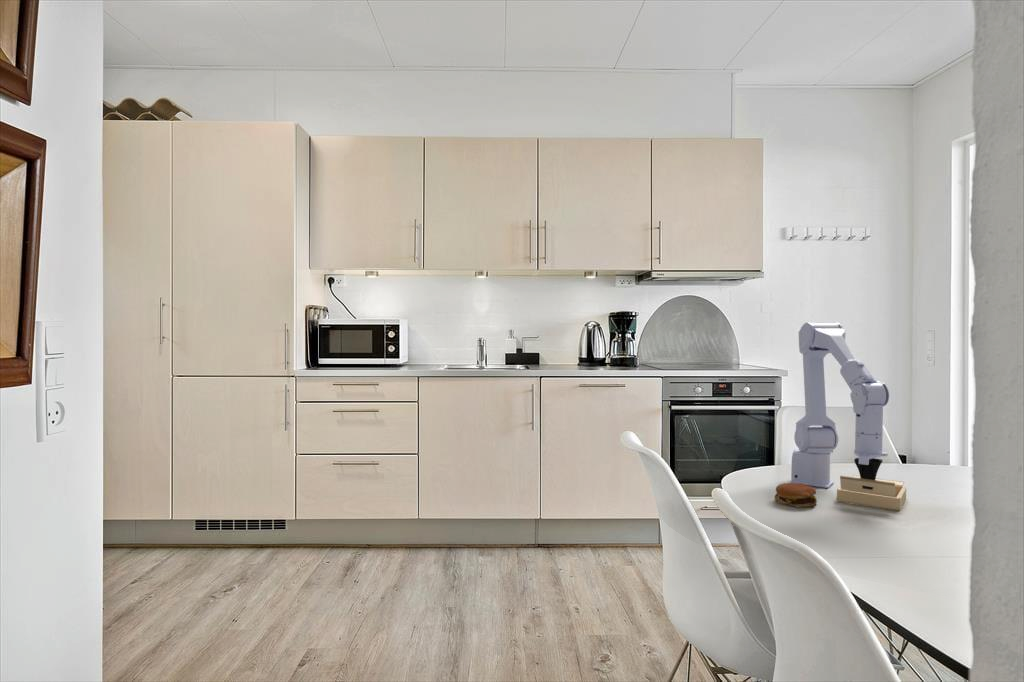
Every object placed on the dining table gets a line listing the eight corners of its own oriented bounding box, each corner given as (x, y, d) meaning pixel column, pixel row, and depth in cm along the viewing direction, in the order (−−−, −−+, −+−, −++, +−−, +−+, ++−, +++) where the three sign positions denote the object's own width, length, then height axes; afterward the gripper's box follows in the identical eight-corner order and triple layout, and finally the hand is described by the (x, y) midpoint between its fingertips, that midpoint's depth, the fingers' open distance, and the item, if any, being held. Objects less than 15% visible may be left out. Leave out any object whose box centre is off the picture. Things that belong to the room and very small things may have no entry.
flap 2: (902, 486, 167) (904, 483, 169) (902, 485, 167) (904, 481, 169) (851, 479, 174) (853, 476, 176) (851, 478, 174) (853, 475, 176)
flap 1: (840, 488, 162) (840, 476, 161) (841, 487, 162) (840, 475, 161) (895, 496, 155) (894, 483, 154) (895, 495, 155) (894, 482, 154)
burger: (769, 497, 167) (770, 479, 166) (807, 498, 166) (808, 480, 166) (782, 508, 157) (782, 489, 157) (822, 510, 156) (823, 490, 156)
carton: (836, 501, 163) (836, 489, 163) (846, 490, 174) (847, 478, 174) (899, 511, 155) (899, 498, 155) (906, 498, 166) (906, 486, 166)
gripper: (883, 439, 149) (882, 498, 150) (891, 430, 161) (890, 485, 162) (849, 436, 154) (848, 493, 154) (859, 427, 165) (858, 480, 166)
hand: (867, 489), depth 158 cm, fingers closed, pressing on flap 1
